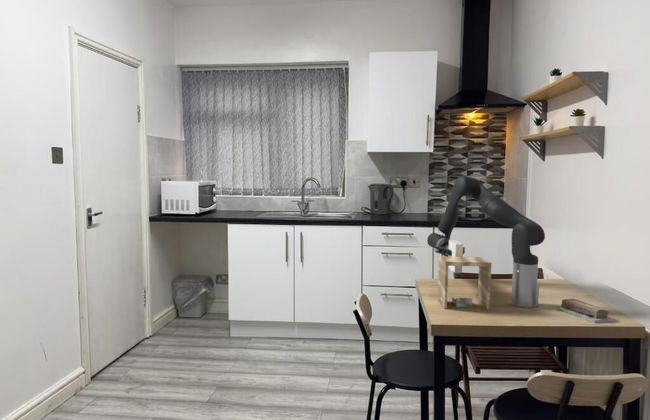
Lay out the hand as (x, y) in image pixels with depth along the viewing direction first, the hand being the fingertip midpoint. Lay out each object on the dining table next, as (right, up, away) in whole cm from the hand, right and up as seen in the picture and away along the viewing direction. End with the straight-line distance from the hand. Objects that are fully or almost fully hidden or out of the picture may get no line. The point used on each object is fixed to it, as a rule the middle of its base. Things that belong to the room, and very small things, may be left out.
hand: (455, 253), depth 205 cm
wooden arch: (-1, -19, -13) cm, 23 cm away
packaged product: (+43, -22, -24) cm, 53 cm away
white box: (0, -7, 0) cm, 7 cm away
